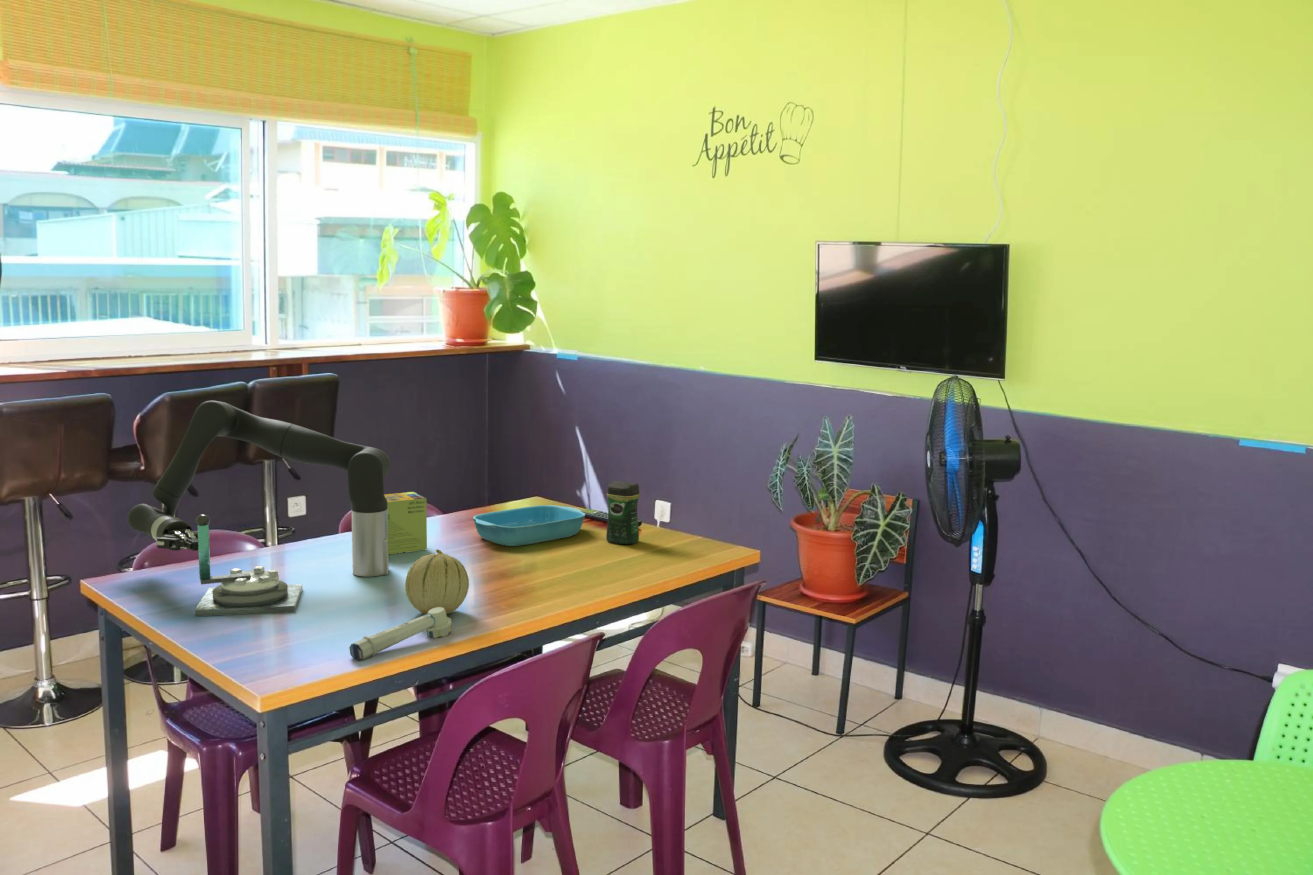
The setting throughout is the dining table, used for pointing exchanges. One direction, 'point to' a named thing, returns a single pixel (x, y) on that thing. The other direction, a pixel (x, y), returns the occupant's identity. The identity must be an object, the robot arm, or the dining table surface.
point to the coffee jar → (622, 512)
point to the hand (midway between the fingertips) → (196, 546)
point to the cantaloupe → (437, 583)
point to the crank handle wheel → (232, 570)
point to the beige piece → (402, 633)
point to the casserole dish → (529, 524)
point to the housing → (249, 601)
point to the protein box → (406, 522)
